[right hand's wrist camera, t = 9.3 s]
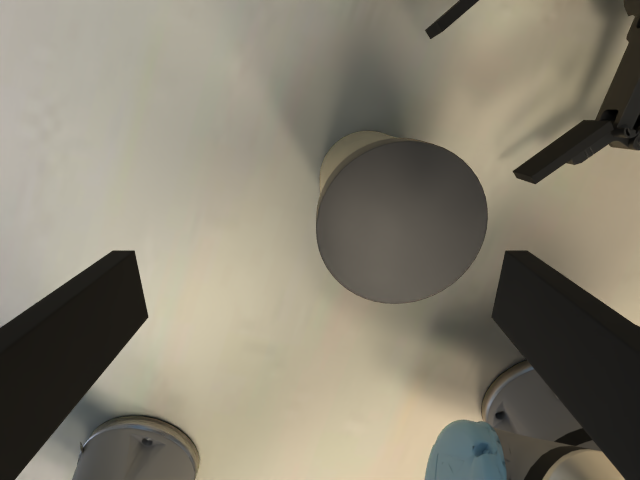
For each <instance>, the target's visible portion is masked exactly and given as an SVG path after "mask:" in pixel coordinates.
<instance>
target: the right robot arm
mask: <svg viewBox="0 0 640 480" xmlns="http://www.w3.org/2000/svg"><path fill="white" fill-rule="evenodd" d="M147 318H148V313H147V308H146V303H145V299H144V294H143V289H142V284H141V279H140V275H139V270H138V265H137V260H136V255H135V251H112V252H110V253H109V254H107V255H106V256H104V257H103V258H101V259H100V260H99V261H97V262H96V263H94V264H93V265H91V266H90V267H88V268H87V269H85V270H84V271H82V272H81V273H80V274H78V275H77V276H75V277H74V278H72V279H71V280H69V281H68V282H66V283H65V284H64V285H62V286H61V287H59V288H58V289H56V290H55V291H53V292H52V293H50V294H49V295H47V296H46V297H45V298H43V299H42V300H40V301H39V302H37V303H36V304H34V305H33V306H31V307H30V308H29V309H27V310H26V311H24V312H23V313H21V314H20V315H18V316H17V317H15V318H14V319H13V320H11V321H10V322H8V323H7V324H5V325H4V326H2V327H1V328H0V480H15V479H16V478H17V476H18V475H19V474H20V473H21V472H22V470H23V469H24V468H25V467H26V465H27V464H28V463H29V462H30V461H31V459H32V458H33V457H34V456H35V454H36V453H37V452H38V451H39V450H40V448H41V447H42V446H43V445H44V444H45V442H46V441H47V440H48V439H49V437H50V436H51V435H52V434H53V433H54V431H55V430H56V429H57V428H58V427H59V425H60V424H61V423H62V422H63V420H64V419H65V418H66V417H67V416H68V414H69V413H70V412H71V411H72V409H73V408H74V407H75V406H76V405H77V403H78V402H79V401H80V400H81V399H82V397H83V396H84V395H85V394H86V392H87V391H88V390H89V389H90V388H91V386H92V385H93V384H94V383H95V382H96V380H97V379H98V378H99V377H100V375H101V374H102V373H103V372H104V371H105V369H106V368H107V367H108V366H109V364H110V363H111V362H112V361H113V360H114V358H115V357H116V356H117V355H118V354H119V352H120V351H121V350H122V349H123V347H124V346H125V345H126V344H127V343H128V341H129V340H130V339H131V338H132V337H133V335H134V334H135V333H136V332H137V330H138V329H139V328H140V327H141V326H142V324H143V323H144V322H145V321H146V319H147ZM492 318H493V319H494V321H495V322H496V323H497V324H498V326H499V327H500V328H501V329H502V330H503V332H504V333H505V334H506V335H507V337H508V338H509V339H510V340H511V341H512V343H513V344H514V345H515V346H516V347H517V349H518V350H519V351H520V352H521V354H522V355H523V356H524V357H525V358H526V360H527V361H528V362H529V363H530V364H531V366H532V367H533V368H534V369H535V371H536V372H537V373H538V374H539V375H540V377H541V378H542V379H543V380H544V382H545V383H546V384H547V385H548V386H549V388H550V389H551V390H552V391H553V392H554V394H555V395H556V396H557V397H558V399H559V400H560V401H561V402H562V403H563V405H564V406H565V407H566V408H567V409H568V411H569V412H570V413H571V414H572V416H573V417H574V418H575V419H576V420H577V422H578V423H579V424H580V425H581V427H582V428H583V429H584V430H585V431H586V433H587V434H588V435H589V436H590V437H591V439H592V440H593V441H594V442H595V444H596V445H597V446H598V447H599V448H600V450H601V451H602V452H603V453H604V454H605V456H606V457H607V458H608V459H609V461H610V462H611V463H612V464H613V465H614V467H615V468H616V469H617V470H618V472H619V473H620V474H621V475H622V476H623V478H624V479H625V480H640V327H639V326H637V325H635V324H633V323H632V322H630V321H629V320H627V319H626V318H625V317H623V316H622V315H620V314H619V313H617V312H616V311H614V310H613V309H611V308H610V307H609V306H607V305H606V304H604V303H603V302H601V301H600V300H598V299H597V298H595V297H594V296H593V295H591V294H590V293H588V292H587V291H585V290H584V289H582V288H581V287H579V286H578V285H576V284H575V283H574V282H572V281H571V280H569V279H568V278H566V277H565V276H563V275H562V274H560V273H559V272H558V271H556V270H555V269H553V268H552V267H550V266H549V265H547V264H546V263H544V262H543V261H541V260H540V259H539V258H537V257H536V256H534V255H533V254H531V253H530V252H528V251H505V255H504V260H503V265H502V270H501V275H500V279H499V284H498V289H497V294H496V299H495V303H494V308H493V313H492ZM80 444H81V442H80ZM198 468H199V456H198V453H197V450H196V448H195V446H194V444H193V443H192V442H191V440H190V439H189V438H188V437H187V436H186V435H185V434H184V433H183V432H181V431H180V430H179V429H177V428H175V427H174V426H172V425H170V424H168V423H165V422H163V421H160V420H157V419H153V418H149V417H142V416H126V417H120V418H115V419H112V420H109V421H107V422H105V423H103V424H102V425H100V426H99V427H98V428H96V430H95V431H94V432H93V433H92V434H91V436H90V437H89V439H88V440H87V441H86V443H85V444H84V446H82V444H81V452H80V455H79V459H78V463H77V468H76V470H75V473H74V476H73V479H72V480H195V477H196V474H197V471H198Z"/></svg>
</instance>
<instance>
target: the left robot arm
mask: <svg viewBox="0 0 640 480" xmlns="http://www.w3.org/2000/svg"><path fill="white" fill-rule="evenodd" d="M478 1H479V0H459V1H458V2H457V3H456V4H455V5H454V6H452V7H451V8H450V9H449V10H448V11H447V12H446V13H444V14H443V15H442V16H441V17H440V18H439V19H437V20H436V21H435V22H434V23H433V24H432V25H431V26H429V27H428V28H427V29H426V30H425V31H426V33H427V34H428V36H429V38H430V39H432V38H433V37H435V36H436V35H438V34H439V33H441V32H443V31H444V30H445V29H446V28H447V27H448V26H450V25H451V24H452V23H453V22H454V21H455V20H457V19H458V18H459V17H460V16H461V15H462V14H464V13H465V12H466V11H467V10H468V9H469V8H471V7H472V6H473V5H474V4H475V3H476V2H478ZM624 7H625V9H626V11H627V14H628V16H630V15H634V16H635V18H634V20H633V23H632V25H631V27H630V30H629V32H628V34H627V40H628V41H629V43H628V46H627V48H626V51H625V53H624V55H623V58H622V60H621V62H620V65H619V67H618V69H617V71H616V74H615V76H614V78H613V81H612V83H611V85H610V88H609V90H608V92H607V95H606V97H605V99H604V101H603V104H602V106H601V108H600V111H599V113H598V115H597V118H596V120H583V121H582V122H580V123H579V124H578V125H576V126H575V127H573V128H572V129H571V130H569V131H568V132H567V133H565V134H564V135H562V136H561V137H560V138H558V139H557V140H555V141H554V142H553V143H551V144H550V145H548V146H547V147H546V148H544V149H543V150H542V151H540V152H539V153H537V154H536V155H535V156H533V157H532V158H530V159H529V160H528V161H526V162H525V163H523V164H522V165H521V166H519V167H518V168H516V169H515V170H514V171H513V173H514V174H515V176H516V177H517V178H518V179H521V180H524V181H527V182H531V183H534V184H536V183H538V182H539V181H541V180H542V179H544V178H545V177H546V176H548V175H549V174H551V173H552V172H554V171H555V170H556V169H558V168H559V167H561V166H562V165H564V164H565V163H568V164H573V165H576V164H579V163H582V162H583V161H585V160H586V159H588V158H589V157H590V156H592V155H593V154H595V153H596V152H598V151H599V150H601V149H602V148H603V147H605V146H606V145H608V144H609V145H610V146H611V147H615V148H623V149H631V150H640V0H624ZM482 418H483V421H484V422H483V421H479V422H473V421H469V420H457V421H454V422H452V423H450V424H449V425H447V426H446V427H445V428H444V429H443V430H442V431H441V433H440V434H439V436H438V437H437V440H436V443H435V444H434V445H433V447H432V450H431V453H430V456H429V459H428V463H427V468H426V474H425V480H625V479H624V478H623V476H622V475H621V474H620V473H619V472H618V470H617V469H616V468H615V467H614V465H613V464H612V463H611V462H610V461H609V459H608V458H607V457H606V456H605V454H604V453H603V452H602V451H601V450H600V448H599V447H598V446H597V445H596V444H595V442H594V441H593V440H592V439H591V437H590V436H589V435H588V434H587V433H586V431H585V430H584V429H583V428H582V427H581V425H580V424H579V423H578V422H577V420H576V419H575V418H574V417H573V416H572V414H571V413H570V412H569V411H568V409H567V408H566V407H565V406H564V405H563V403H562V402H561V401H560V400H559V399H558V397H557V396H556V395H555V394H554V392H553V391H552V390H551V389H550V388H549V386H548V385H547V384H546V383H545V382H544V380H543V379H542V378H541V377H540V375H539V374H538V373H537V372H536V371H535V369H534V368H533V367H532V366H531V364H530V363H529V362H528V361H527V360H526V361H523V362H521V363H519V364H517V365H515V366H513V367H511V368H510V369H508V370H507V371H505V372H504V373H503V374H501V375H500V376H499V377H498V378H497V379H496V380H495V381H494V382H493V383H492V385H491V386H490V387H489V389H488V391H487V392H486V394H485V397H484V399H483V403H482Z"/></svg>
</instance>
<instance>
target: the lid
mask: <svg viewBox="0 0 640 480" xmlns="http://www.w3.org/2000/svg"><path fill="white" fill-rule="evenodd" d="M487 220H488V213H487V203H486V197H485V194H484V191H483V188H482V186H481V184H480V182H479V180H478V178H477V176H476V175H475V173H474V172H473V171H472V169H471V168H470V167H469V166H468V165H467V164H466V163H465V162H464V161H463V160H462V159H461V158H459V157H458V156H457V155H455V154H454V153H452V152H450V151H448V150H447V149H445V148H442V147H440V146H437V145H434V144H431V143H427V142H424V141H420V140H415V139H409V138H391V139H385V140H380V141H376V142H374V143H371V144H368V145H366V146H364V147H362V148H360V149H358V150H356V151H355V152H353V153H352V154H350V155H349V156H348V157H346V158H345V159H344V160H343V161H342V162H341V163H340V164H339V165H338V166H337V167H336V168H335V169H334V171H333V172H332V173H331V175H330V176H329V178H328V179H327V181H326V183H325V185H324V187H323V189H322V192H321V194H320V197H319V201H318V206H317V215H316V234H317V243H318V247H319V251H320V254H321V257H322V259H323V261H324V263H325V265H326V267H327V269H328V270H329V271H330V273H331V274H332V275H333V277H334V278H335V279H336V280H337V281H338V282H339V283H340V284H341V285H343V286H344V287H345V288H346V289H348V290H349V291H351V292H353V293H354V294H356V295H358V296H360V297H363V298H365V299H368V300H372V301H375V302H381V303H390V304H399V303H409V302H415V301H418V300H422V299H425V298H428V297H430V296H433V295H435V294H437V293H439V292H441V291H442V290H444V289H446V288H447V287H449V286H450V285H451V284H453V283H454V282H455V281H456V280H457V279H459V278H460V277H461V276H462V275H463V274H464V273H465V271H466V270H467V269H468V268H469V267H470V265H471V264H472V263H473V261H474V260H475V258H476V256H477V254H478V252H479V251H480V248H481V246H482V243H483V241H484V237H485V233H486V229H487Z"/></svg>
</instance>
